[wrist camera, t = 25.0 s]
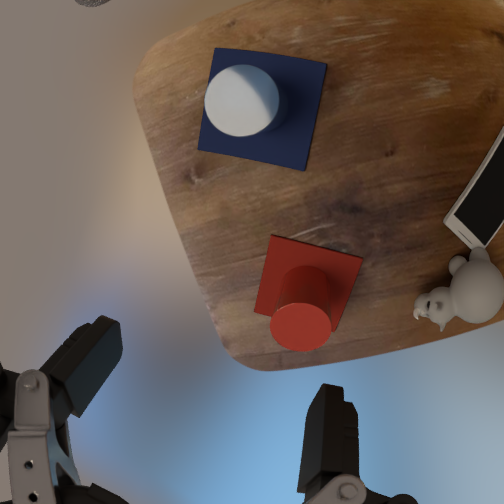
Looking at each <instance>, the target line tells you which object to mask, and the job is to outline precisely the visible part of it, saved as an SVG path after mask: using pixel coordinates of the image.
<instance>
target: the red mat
mask: <svg viewBox="0 0 504 504" xmlns="http://www.w3.org/2000/svg"><path fill="white" fill-rule="evenodd" d="M362 261H363V258H361V257H357V256H353V255H350V254H346V253H342V252H338V251H334V250H330V249H327V248H323V247H319V246H315V245H311V244H307V243H303V242H299V241H295V240H291V239H287V238H283V237H279V236H275V235H271V238H270V242H269V247H268V251H267V256H266V260H265V265H264V269H263V274H262V278H261V283H260V287H259V292H258V296H257V300H256V305H255V309H254V312H255V313H259V314H263V315H267V316H271V317H272V314H273V310H274V306H275V302H276V299H277V295H278V291H279V287H280V283H281V280H282V278H283V276H284V275H285V274H286V273H287V272H288V271H289V270H291V269H293V268H295V267H298V266H312V267H315V268H317V269H319V270H321V271H322V272H323V273H324V274H325V275H326V276H327V277H328V279H329V281H330V285H331V317H332V330H331V331H332V332H335V329H336V327H337V325H338V322H339V320H340V318H341V315H342V313H343V310H344V308H345V305H346V303H347V300H348V298H349V295H350V293H351V290H352V288H353V285H354V282H355V280H356V277H357V274H358V272H359V269H360V266H361V263H362Z"/></svg>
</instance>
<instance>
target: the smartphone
mask: <svg viewBox="0 0 504 504" xmlns="http://www.w3.org/2000/svg"><path fill="white" fill-rule="evenodd" d="M443 223H444V224H445V225H446V226H447V227H448V228H449V229H451V230H452V231H453V232H454V233H455V234H456V235H457V236H458V237H459V238H460V239H461V240H462V241H463V242H464V243H465V244H466V245H467V246H468V247H469V248H470V249H471V250H473V249H474V248H475V247H482V248H484V249H485V248H486V246H487V245H488V244H489V242H490V241H491V240H492V238H493V237H494V235H495V234H496V233H497V231H498V230H499V228H500V227H501V226H502V224H503V223H504V126H503V128H502V130H501V132H500V133H499V135H498V137H497V139H496V140H495V142H494V144H493V146H492V147H491V149H490V151H489V152H488V154H487V156H486V157H485V159H484V160H483V162H482V164H481V165H480V167H479V168H478V170H477V172H476V173H475V175H474V176H473V178H472V179H471V181H470V182H469V184H468V185H467V187H466V188H465V190H464V191H463V193H462V194H461V195H460V197H459V198H458V200H457V201H456V203H455V204H454V205H453V207H452V208H451V210H450V211H449V212H448V214H447V215H446V216H445V218H444V220H443Z"/></svg>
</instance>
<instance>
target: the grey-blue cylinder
mask: <svg viewBox="0 0 504 504" xmlns="http://www.w3.org/2000/svg"><path fill="white" fill-rule="evenodd" d="M204 106H205V111H206V114H207V117H208V119H209V120H210V122H211V123H212V124H213V126H214V127H216V128H217V129H218V130H219V131H221V132H222V133H224V134H227V135H229V136H233V137H249V136H254V135H259V134H264V133H268V132H271V131H273V130H275V129H276V128H278V127H279V126H280V125H281V124H282V123H283V122H284V120H285V118H286V116H287V113H288V109H289V102H288V98H287V95H286V93H285V91H284V90H283V88H282V87H281V86H280V85H279V84H278V83H277V82H276V81H275V80H274V79H273V78H272V77H271V76H270V75H268V74H267V73H266V72H265V71H263V70H262V69H260V68H258V67H255V66H251V65H243V64H242V65H234V66H230V67H228V68H226V69H223V70H222V71H220V72H219V73H218V74H217V75H215V77H214V78H213V79H212V80H211V81H210V83H209V85H208V87H207V89H206V92H205V97H204Z"/></svg>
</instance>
